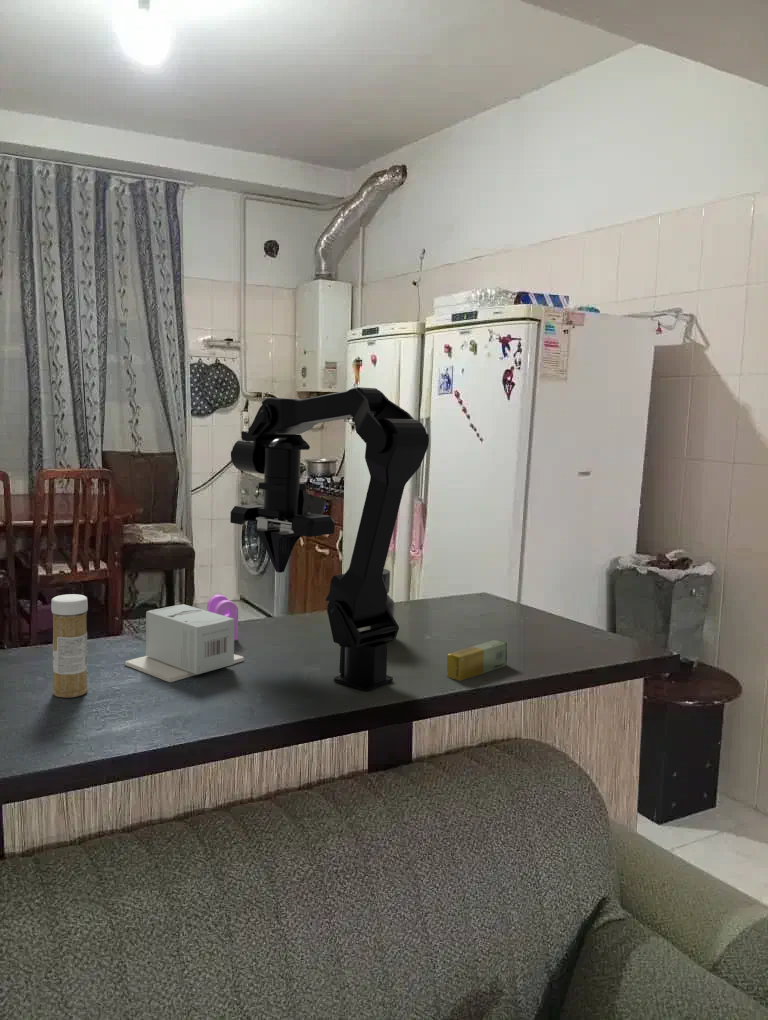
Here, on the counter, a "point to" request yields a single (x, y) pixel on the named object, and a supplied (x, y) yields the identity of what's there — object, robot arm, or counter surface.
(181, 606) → the supplement box
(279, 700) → the counter surface
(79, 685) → the sprinkles bottle
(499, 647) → the medication box
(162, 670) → the mat
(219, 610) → the bracket
